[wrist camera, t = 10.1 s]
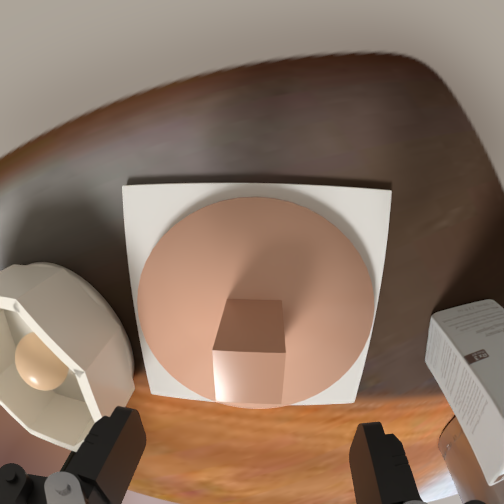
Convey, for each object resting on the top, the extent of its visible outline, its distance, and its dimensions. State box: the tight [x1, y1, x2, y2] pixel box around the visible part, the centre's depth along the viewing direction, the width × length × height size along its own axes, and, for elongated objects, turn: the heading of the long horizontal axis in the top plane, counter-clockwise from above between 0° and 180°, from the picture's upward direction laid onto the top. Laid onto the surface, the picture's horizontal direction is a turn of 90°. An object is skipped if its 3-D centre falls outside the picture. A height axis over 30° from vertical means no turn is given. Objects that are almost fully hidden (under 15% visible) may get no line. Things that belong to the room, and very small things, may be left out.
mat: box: [122, 183, 392, 405], centre depth 18 cm, size 15×15×1 cm
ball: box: [15, 332, 69, 391], centre depth 17 cm, size 4×4×4 cm
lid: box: [137, 196, 374, 409], centre depth 15 cm, size 14×14×6 cm
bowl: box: [0, 262, 135, 452], centre depth 18 cm, size 13×13×6 cm
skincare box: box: [425, 299, 504, 486], centre depth 13 cm, size 6×4×12 cm
